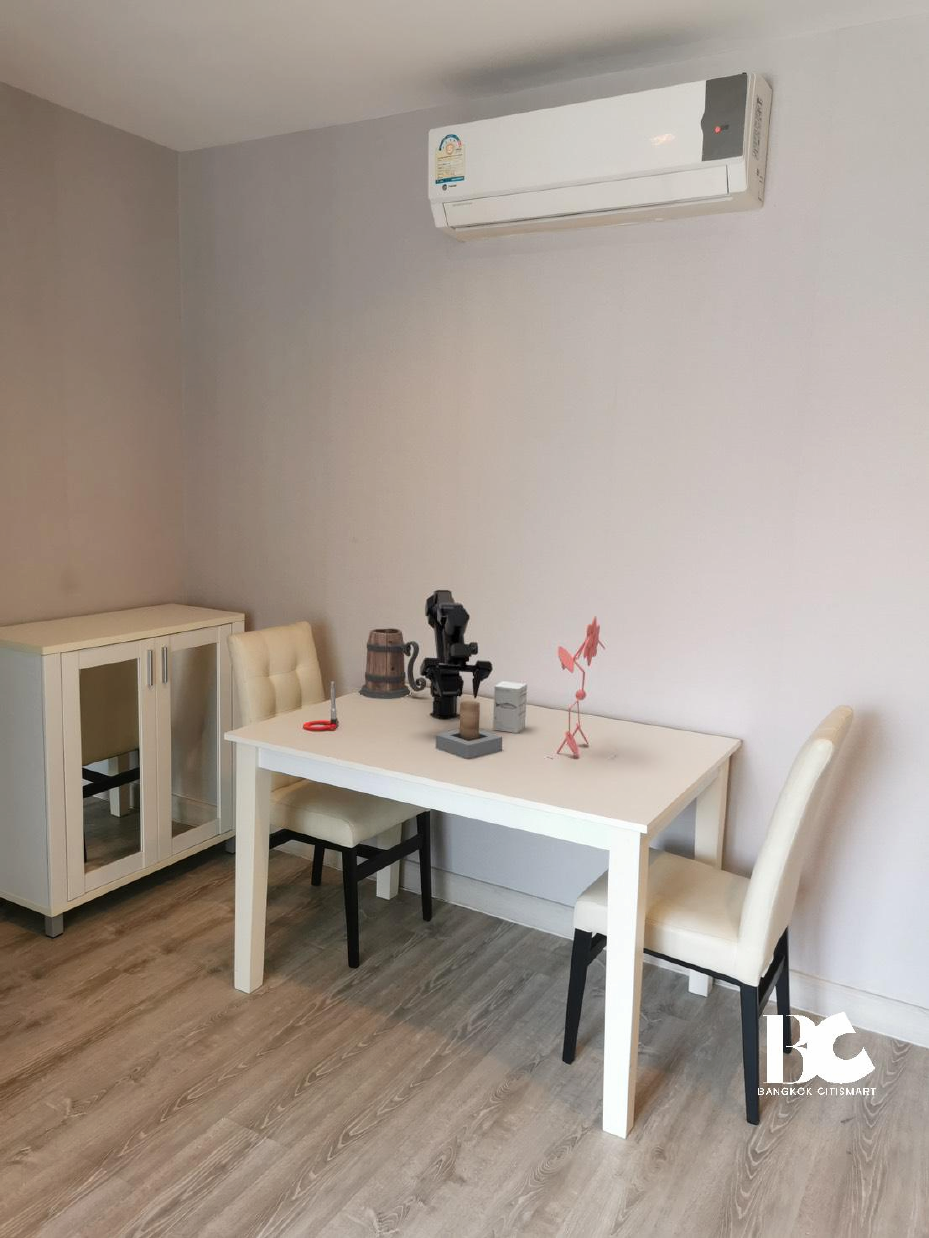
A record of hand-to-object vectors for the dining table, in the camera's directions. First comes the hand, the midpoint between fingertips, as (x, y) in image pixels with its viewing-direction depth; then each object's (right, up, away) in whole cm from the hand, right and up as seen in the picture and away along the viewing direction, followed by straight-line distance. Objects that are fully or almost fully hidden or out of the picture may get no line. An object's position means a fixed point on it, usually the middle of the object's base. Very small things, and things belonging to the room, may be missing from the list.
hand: (458, 696), depth 245 cm
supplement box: (+14, -10, +13) cm, 22 cm away
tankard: (-21, -3, +50) cm, 54 cm away
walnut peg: (+3, -13, -7) cm, 15 cm away
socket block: (+3, -13, -7) cm, 15 cm away
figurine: (+33, -14, -7) cm, 36 cm away
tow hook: (-38, -9, +10) cm, 40 cm away
